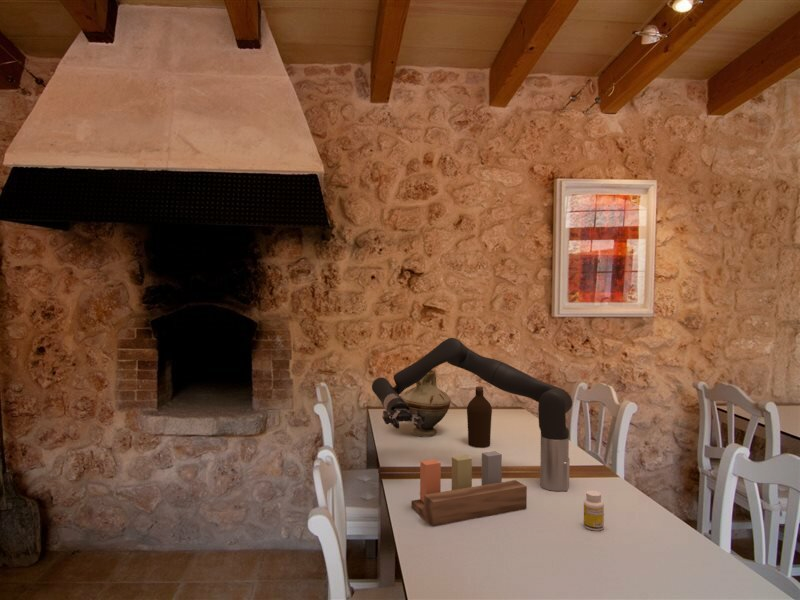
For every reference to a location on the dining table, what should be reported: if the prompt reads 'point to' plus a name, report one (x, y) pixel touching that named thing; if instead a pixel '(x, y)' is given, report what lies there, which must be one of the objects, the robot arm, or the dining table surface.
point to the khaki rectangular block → (461, 472)
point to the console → (472, 502)
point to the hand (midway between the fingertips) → (410, 426)
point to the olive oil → (479, 420)
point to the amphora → (427, 403)
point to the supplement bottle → (593, 511)
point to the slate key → (491, 468)
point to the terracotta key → (430, 477)
